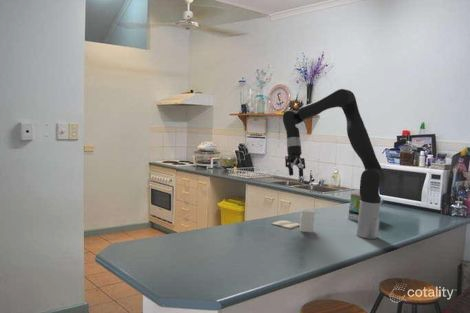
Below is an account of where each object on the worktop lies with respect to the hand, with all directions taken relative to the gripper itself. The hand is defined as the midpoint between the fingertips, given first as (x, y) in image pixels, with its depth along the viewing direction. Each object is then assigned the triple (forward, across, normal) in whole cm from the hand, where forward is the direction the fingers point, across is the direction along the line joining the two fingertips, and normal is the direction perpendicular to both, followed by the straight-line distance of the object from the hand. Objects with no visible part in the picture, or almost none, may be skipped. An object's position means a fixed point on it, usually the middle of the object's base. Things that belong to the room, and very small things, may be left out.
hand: (296, 176), depth 216 cm
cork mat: (+26, -9, +2) cm, 27 cm away
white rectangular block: (+29, -8, -9) cm, 31 cm away
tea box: (+24, +43, -11) cm, 50 cm away
